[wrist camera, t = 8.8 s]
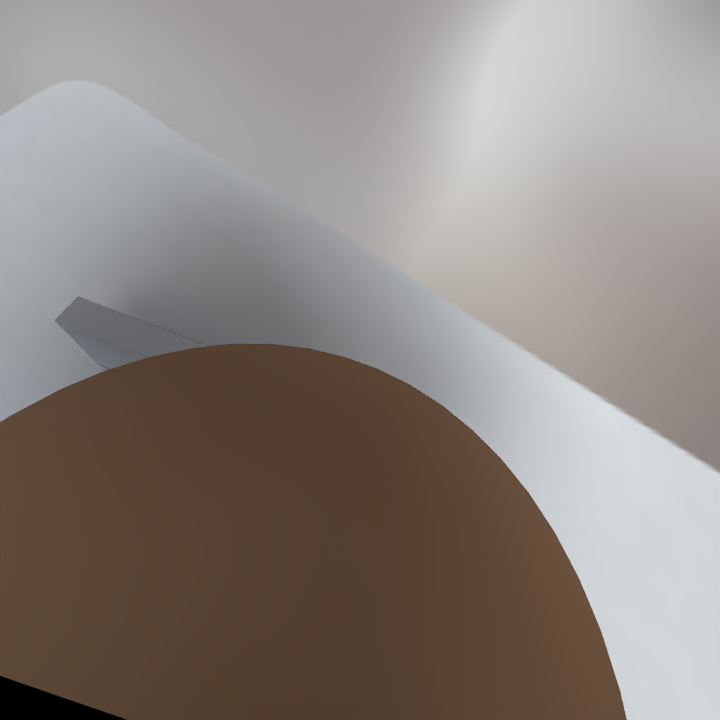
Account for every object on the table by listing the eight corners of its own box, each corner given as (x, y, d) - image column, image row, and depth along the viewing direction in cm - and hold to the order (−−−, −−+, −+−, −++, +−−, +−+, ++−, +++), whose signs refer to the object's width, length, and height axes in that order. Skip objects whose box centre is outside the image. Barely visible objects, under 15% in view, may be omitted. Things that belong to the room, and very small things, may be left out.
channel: (30, 756, 11) (-75, 836, 7) (-159, 678, 11) (-340, 727, 8) (238, 390, 17) (226, 353, 14) (116, 343, 17) (78, 296, 14)
